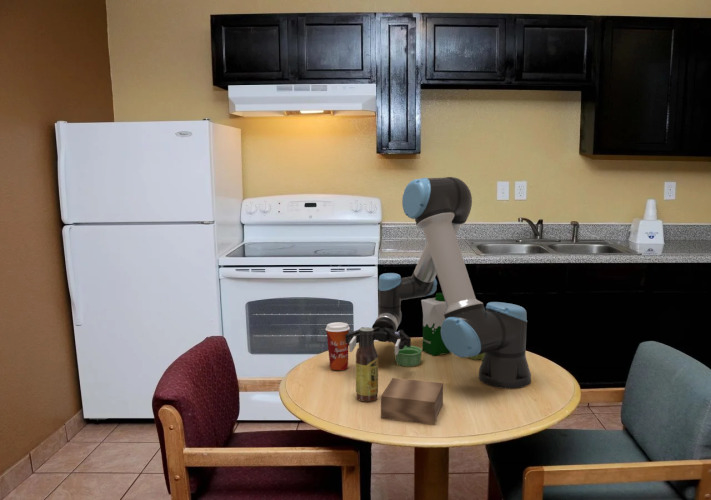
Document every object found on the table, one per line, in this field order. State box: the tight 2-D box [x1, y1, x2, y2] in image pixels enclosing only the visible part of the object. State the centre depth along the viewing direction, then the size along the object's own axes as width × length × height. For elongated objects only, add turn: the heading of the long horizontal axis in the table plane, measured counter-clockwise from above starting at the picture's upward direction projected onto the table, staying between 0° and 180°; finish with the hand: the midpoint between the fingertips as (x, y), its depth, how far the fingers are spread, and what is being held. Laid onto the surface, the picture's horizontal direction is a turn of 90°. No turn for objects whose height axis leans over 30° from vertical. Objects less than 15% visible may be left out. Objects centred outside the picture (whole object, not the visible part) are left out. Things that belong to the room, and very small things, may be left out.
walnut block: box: [380, 377, 444, 426], centre depth 158 cm, size 14×13×6 cm
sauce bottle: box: [355, 327, 379, 402], centre depth 166 cm, size 7×6×20 cm
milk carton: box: [420, 292, 451, 357], centre depth 204 cm, size 9×9×20 cm
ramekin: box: [393, 345, 423, 367], centre depth 195 cm, size 9×9×4 cm
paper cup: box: [325, 321, 351, 371], centre depth 190 cm, size 8×8×14 cm
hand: (373, 349), depth 175 cm, fingers open, 13 cm apart
